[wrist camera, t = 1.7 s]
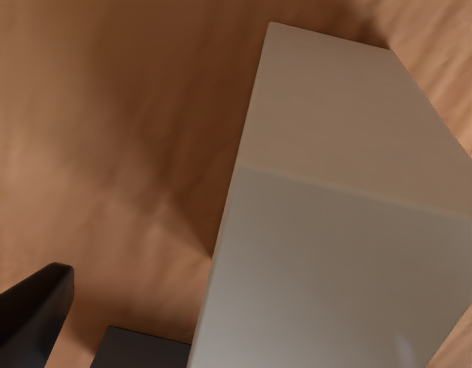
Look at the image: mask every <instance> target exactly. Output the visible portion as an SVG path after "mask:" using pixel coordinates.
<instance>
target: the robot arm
mask: <svg viewBox="0 0 472 368" xmlns="http://www.w3.org/2000/svg"><path fill="white" fill-rule="evenodd" d="M73 298H74V268H73V267H72V266H70V265H66V264H62V263H57V262H54V263H51V264H49V265H47V266H45V267H44V268H42V269H41V270H39V271H37V272H36V273H34V274H32V275H31V276H29V277H28V278H26V279H24V280H23V281H21V282H19V283H18V284H16V285H15V286H13V287H11V288H10V289H8V290H6V291H5V292H3V293H1V294H0V368H44V367H45V365H46V362H47V360H48V358H49V355H50V353H51V351H52V349H53V346H54V344H55V342H56V339H57V337H58V335H59V333H60V330H61V328H62V326H63V323H64V321H65V319H66V316H67V314H68V312H69V310H70V307H71V305H72V302H73Z"/></svg>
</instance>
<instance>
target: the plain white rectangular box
mask: <svg viewBox="0 0 472 368" xmlns="http://www.w3.org/2000/svg"><path fill="white" fill-rule="evenodd" d="M471 303H472V159H471V158H470V157H469V155H468V154H467V152H466V151H465V150H464V148H463V147H462V146H461V144H460V143H459V141H458V140H457V139H456V137H455V136H454V134H453V133H452V132H451V130H450V129H449V128H448V126H447V125H446V123H445V122H444V121H443V119H442V118H441V116H440V115H439V114H438V112H437V111H436V109H435V108H434V107H433V105H432V104H431V103H430V101H429V100H428V98H427V97H426V96H425V94H424V93H423V91H422V90H421V89H420V87H419V86H418V85H417V83H416V82H415V80H414V79H413V78H412V76H411V75H410V73H409V72H408V71H407V69H406V68H405V66H404V65H403V64H402V62H401V61H400V60H399V58H398V57H397V55H396V54H395V53H394V52H393V51H391V50H387V49H383V48H379V47H375V46H371V45H367V44H363V43H359V42H355V41H350V40H346V39H342V38H338V37H334V36H330V35H326V34H322V33H318V32H314V31H310V30H305V29H301V28H297V27H293V26H289V25H285V24H281V23H277V22H270V23H269V24H268V28H267V32H266V36H265V41H264V45H263V49H262V53H261V57H260V62H259V66H258V70H257V74H256V78H255V82H254V87H253V91H252V95H251V99H250V103H249V108H248V112H247V116H246V120H245V124H244V128H243V133H242V137H241V141H240V145H239V149H238V154H237V158H236V162H235V166H234V170H233V174H232V179H231V183H230V187H229V191H228V195H227V200H226V204H225V208H224V212H223V216H222V220H221V225H220V229H219V233H218V237H217V241H216V245H215V250H214V254H213V258H212V262H211V266H210V271H209V275H208V279H207V283H206V287H205V292H204V296H203V300H202V304H201V308H200V312H199V317H198V321H197V325H196V329H195V333H194V338H193V342H192V346H191V350H190V354H189V358H188V363H187V367H186V368H425V366H426V365H427V364H428V362H429V361H430V360H431V358H432V357H433V355H434V354H435V353H436V351H437V350H438V349H439V347H440V346H441V344H442V343H443V342H444V340H445V339H446V337H447V336H448V335H449V333H450V332H451V331H452V329H453V328H454V326H455V325H456V324H457V322H458V321H459V319H460V318H461V317H462V315H463V314H464V313H465V311H466V310H467V308H468V307H469V306H470V304H471Z"/></svg>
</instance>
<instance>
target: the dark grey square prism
mask: <svg viewBox="0 0 472 368" xmlns="http://www.w3.org/2000/svg"><path fill="white" fill-rule="evenodd" d="M191 346H192V345H188V344H183V343H179V342H175V341H170V340H166V339H162V338H158V337H153V336H149V335H145V334H140V333H136V332H132V331H128V330H123V329H119V328H115V327H111V326H109V327H108V328H107V331H106V333H105V335H104V337H103V339H102V342H101V344H100V346H99V348H98V350H97V353H96V355H95V357H94V359H93V362H92V364H91V366H90V368H186V367H187V363H188V358H189V354H190V350H191Z"/></svg>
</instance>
